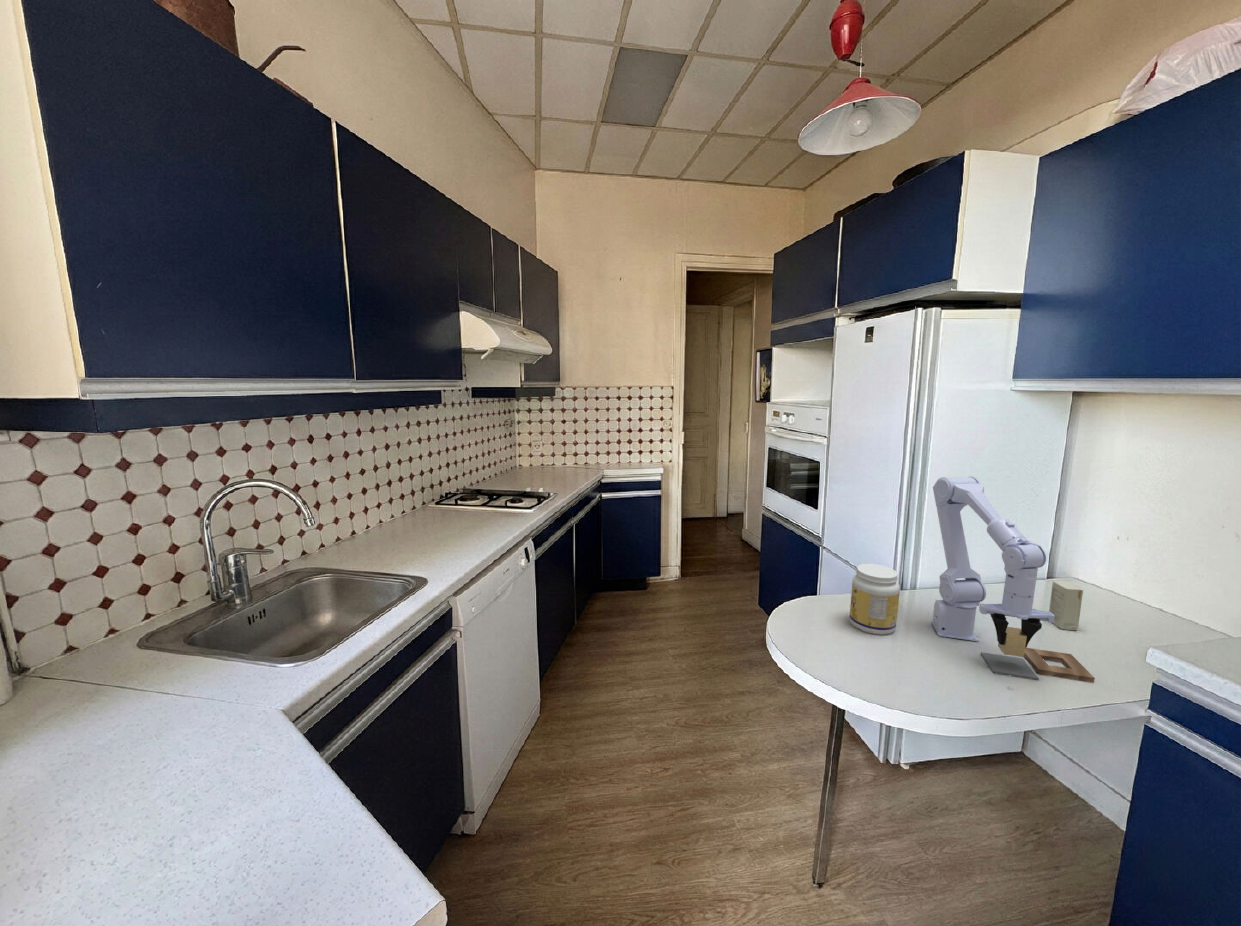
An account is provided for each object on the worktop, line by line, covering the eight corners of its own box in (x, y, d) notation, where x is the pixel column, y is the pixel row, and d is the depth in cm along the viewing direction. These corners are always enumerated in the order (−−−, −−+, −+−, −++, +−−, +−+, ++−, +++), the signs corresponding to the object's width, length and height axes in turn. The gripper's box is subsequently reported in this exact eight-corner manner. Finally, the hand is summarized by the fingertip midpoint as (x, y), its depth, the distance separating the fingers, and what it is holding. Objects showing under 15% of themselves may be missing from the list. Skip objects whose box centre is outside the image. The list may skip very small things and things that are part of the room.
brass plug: (1004, 654, 121) (1006, 633, 121) (997, 646, 125) (1000, 625, 124) (1023, 657, 120) (1026, 636, 119) (1017, 648, 124) (1019, 628, 123)
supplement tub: (846, 613, 152) (850, 560, 149) (890, 618, 148) (895, 564, 145) (852, 632, 140) (857, 576, 137) (900, 638, 137) (906, 581, 134)
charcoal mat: (993, 672, 121) (993, 671, 121) (980, 653, 129) (980, 651, 129) (1038, 680, 118) (1038, 678, 118) (1022, 660, 126) (1022, 658, 126)
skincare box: (1078, 631, 140) (1085, 590, 138) (1060, 629, 141) (1067, 589, 139) (1063, 620, 147) (1069, 581, 145) (1046, 619, 147) (1052, 580, 145)
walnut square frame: (1038, 673, 120) (1038, 669, 120) (1019, 650, 130) (1020, 646, 130) (1094, 682, 117) (1094, 677, 117) (1070, 658, 127) (1071, 654, 127)
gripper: (989, 594, 119) (982, 647, 121) (1064, 603, 114) (1055, 658, 116) (979, 583, 125) (972, 633, 128) (1049, 591, 121) (1041, 643, 123)
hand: (1011, 644), depth 122 cm, fingers closed on brass plug, 4 cm apart
